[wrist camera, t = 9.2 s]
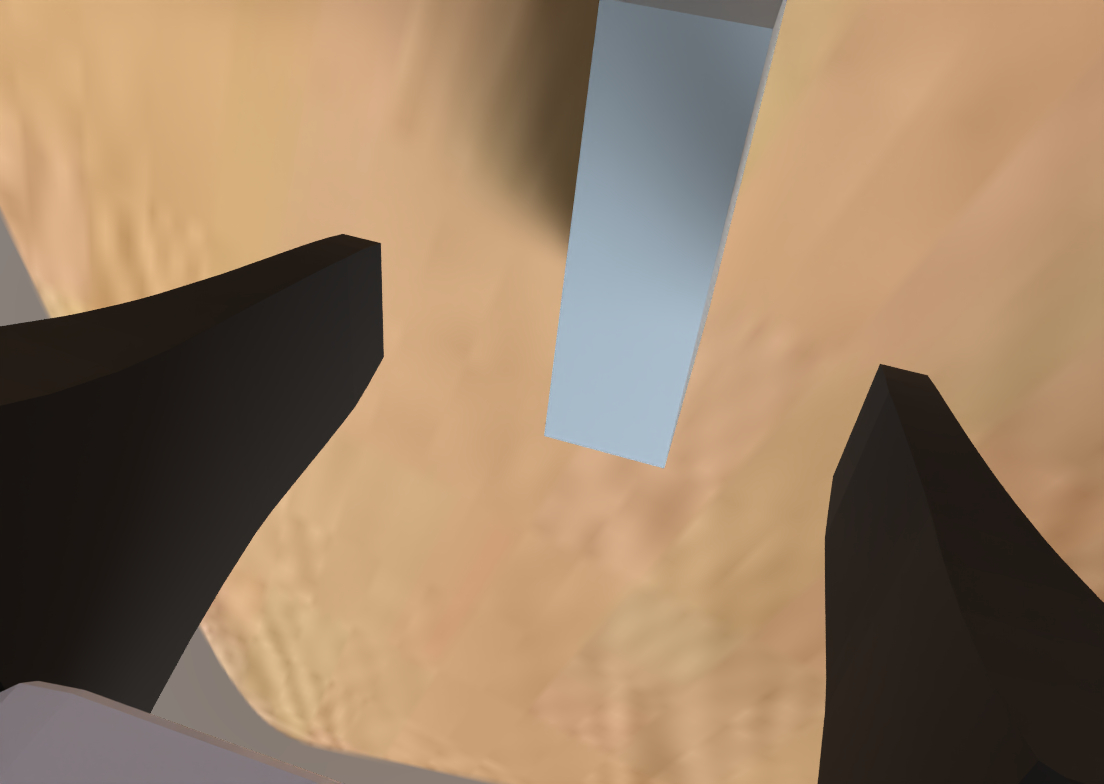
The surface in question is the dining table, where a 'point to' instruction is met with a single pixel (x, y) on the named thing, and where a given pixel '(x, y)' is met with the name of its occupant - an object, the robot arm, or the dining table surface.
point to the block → (653, 211)
